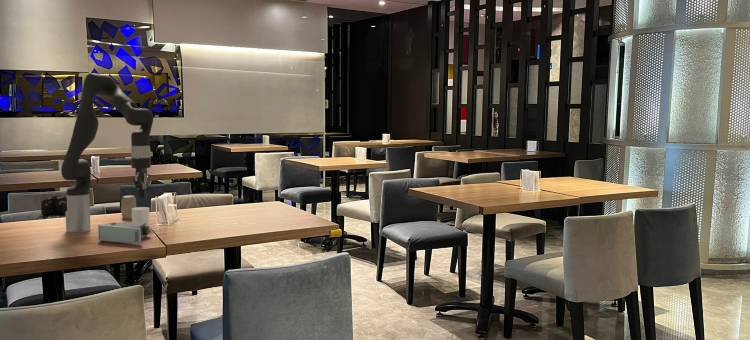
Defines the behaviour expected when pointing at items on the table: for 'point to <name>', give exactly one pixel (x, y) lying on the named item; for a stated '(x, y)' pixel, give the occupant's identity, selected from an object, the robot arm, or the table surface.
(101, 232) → the side door
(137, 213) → the white cup
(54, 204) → the film camera
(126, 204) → the carving
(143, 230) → the camera housing
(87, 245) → the table surface
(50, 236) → the table surface
